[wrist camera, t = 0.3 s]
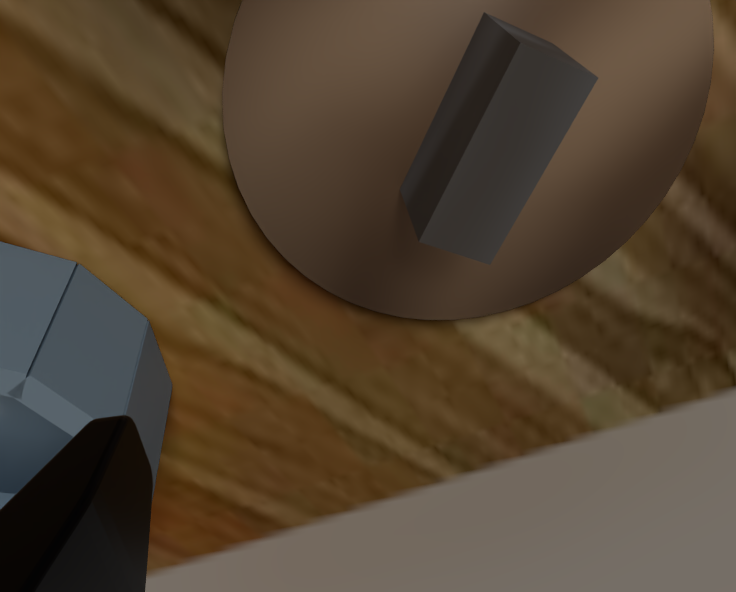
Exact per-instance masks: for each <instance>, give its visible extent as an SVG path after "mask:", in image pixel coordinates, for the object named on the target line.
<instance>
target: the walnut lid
mask: <svg viewBox="0 0 736 592" xmlns="http://www.w3.org/2000/svg"><path fill="white" fill-rule="evenodd" d="M713 54H714V38H713V16H712V10H711V4H710V0H242V2H241V5H240V7H239V10H238V12H237V15H236V18H235V21H234V25H233V30H232V34H231V38H230V42H229V47H228V51H227V55H226V61H225V71H224V82H223V92H222V100H223V126H224V133H225V138H226V144H227V150H228V155H229V160H230V163H231V166H232V169H233V172H234V176H235V179H236V182H237V185H238V188H239V190H240V192H241V194H242V196H243V198H244V200H245V202H246V204H247V207H248V209H249V211H250V213H251V215H252V216H253V218H254V219H255V221H256V222H257V224H258V225H259V227H260V228H261V230H262V231H263V233H264V234H265V236H266V237H267V239H268V240H269V241H270V242H271V243H272V244H273V245H274V247H275V248H276V249H277V250H278V251H279V252H280V253H281V255H282V256H283V257H284V258H285V259H286V260H287V261H288V262H290V263H291V264H292V265H293V266H294V267H295V268H296V269H298V270H299V271H300V272H301V273H302V274H303V275H304V276H306V277H307V278H309V279H310V280H312V281H313V282H315V283H316V284H318V285H319V286H321V287H322V288H324V289H325V290H327V291H328V292H330V293H332V294H334V295H336V296H338V297H340V298H342V299H344V300H346V301H348V302H350V303H353V304H356V305H359V306H361V307H364V308H367V309H370V310H373V311H376V312H380V313H384V314H389V315H393V316H398V317H404V318H413V319H422V320H457V319H465V318H474V317H481V316H486V315H490V314H495V313H499V312H504V311H508V310H511V309H514V308H517V307H520V306H523V305H526V304H529V303H532V302H534V301H536V300H538V299H541V298H543V297H545V296H547V295H550V294H552V293H554V292H556V291H558V290H560V289H562V288H563V287H565V286H567V285H569V284H570V283H572V282H574V281H576V280H577V279H579V278H581V277H582V276H584V275H585V274H587V273H588V272H589V271H591V270H592V269H594V268H595V267H596V266H598V265H599V264H601V263H602V262H603V261H605V260H606V259H607V258H608V257H609V256H611V255H612V254H613V253H614V252H615V251H616V250H617V249H619V248H620V247H621V246H622V245H623V244H624V243H625V242H627V241H628V239H629V238H630V237H631V236H632V235H633V234H634V233H635V232H636V231H637V230H638V229H639V228H640V227H641V226H642V225H643V223H644V222H645V221H646V220H647V219H648V218H649V216H650V215H651V214H652V212H653V211H654V210H655V209H656V207H657V206H658V205H659V203H660V202H661V201H662V199H663V198H664V197H665V195H666V194H667V192H668V190H669V189H670V187H671V185H672V184H673V182H674V181H675V179H676V177H677V176H678V174H679V172H680V171H681V169H682V167H683V165H684V162H685V160H686V158H687V156H688V154H689V152H690V150H691V148H692V146H693V143H694V141H695V138H696V135H697V132H698V129H699V126H700V123H701V121H702V118H703V115H704V111H705V107H706V102H707V98H708V93H709V88H710V84H711V76H712V65H713Z"/></svg>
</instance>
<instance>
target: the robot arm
mask: <svg viewBox="0 0 736 592" xmlns="http://www.w3.org/2000/svg"><path fill="white" fill-rule="evenodd" d="M152 492H153V476H152V469H151V465H150V462H149V460H148V457H147V454H146V451H145V449H144V446H143V443H142V441H141V438H140V435H139V432H138V430H137V427H136V425H135V422H134V421H133V420H132V418H131V417H129V416H127V415H119V416H111V417H103V418H97V419H93V420H92V421H90V422H89V423H88V424H86V425H85V426H84V427H83V428H82V429H81V430H80V431H79V432H78V433H77V434H76V435H75V436H74V437H73V438H72V439H71V440H70V441H69V442H68V443H67V444H66V445H65V446H64V447H63V448H62V449H61V450H60V451H59V452H58V453H57V454H56V455H55V456H54V457H53V458H52V459H51V460H50V461H49V462H48V463H47V464H46V465H45V466H44V467H43V468H42V469H41V470H40V471H39V472H38V473H37V474H36V475H35V476H34V477H33V478H32V479H31V480H30V481H29V482H28V483H27V484H26V485H25V486H24V487H22V488H21V489H20V490H19V491H18V492H17V493H16V494H15V495H14V496H13V497H12V498H11V499H10V500H9V501H8V502H7V503H6V504H5V505H4V506H3V507H2V508H1V509H0V592H145V583H146V571H147V558H148V545H149V532H150V519H151V505H152Z"/></svg>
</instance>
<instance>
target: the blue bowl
mask: <svg viewBox="0 0 736 592" xmlns="http://www.w3.org/2000/svg"><path fill="white" fill-rule="evenodd" d="M76 264H77V262H73V261H70V260H66V259H62V258H59V257H55V256H51V255H48V254H44V253H40V252H37V251H33V250H29V249H26V248H22V247H18V246H14V245H11V244H7V243H3V242H0V509H1V508H2V507H3V506H4V505H5V504H6V503H7V502H8V501H9V500H10V499H11V498H12V497H13V496H14V495H15V494H16V493H17V492H18V491H19V490H20V489H21V488H22V487H24V486H25V485H26V484H27V483H28V482H29V481H30V480H31V479H32V478H33V477H34V476H35V475H36V474H37V473H38V472H39V471H40V470H41V469H42V468H43V467H44V466H45V465H46V464H47V463H48V462H49V461H50V460H51V459H52V458H53V457H54V456H55V455H56V454H57V453H58V452H59V451H60V450H61V449H62V448H63V447H64V446H65V445H66V444H67V443H68V442H69V441H70V440H71V439H72V438H73V437H74V436H75V435H76V434H77V433H78V432H79V431H80V430H81V429H82V428H83V427H84V426H85V425H86V424H88V423H89V422H90V421H92V420H93V419H97V418H103V417H111V416H119V415H127V416H129V417H131V418H132V420H133V421H134V422H135V425H136V427H137V430H138V432H139V435H140V438H141V441H142V443H143V446H144V449H145V451H146V454H147V457H148V460H149V462H150V465H151V469H152V476H153V492H152V499H153V493H154V487H155V482H156V476H157V470H158V465H159V459H160V453H161V448H162V442H163V436H164V431H165V425H166V419H167V414H168V408H169V402H170V397H171V391H172V382H171V380H170V377H169V374H168V371H167V369H166V366H165V363H164V361H163V358H162V355H161V352H160V350H159V347H158V344H157V342H156V339H155V336H154V333H153V331H152V328H151V325H150V323H149V321H147V318H146V317H144V316H143V315H142V314H141V313H139V312H138V311H137V310H136V309H135V308H133V307H132V306H131V305H130V304H128V303H127V302H126V301H125V300H123V299H122V298H121V297H120V296H119V295H117V294H116V293H115V292H114V291H112V290H111V289H110V288H109V287H107V286H106V285H105V284H104V283H103V282H101V281H100V280H99V279H98V278H96V277H95V276H94V275H93V274H91V273H90V272H89V271H88V270H86V269H85V268H84V267H83V266H82V265H80V264H78V265H77V266H76Z"/></svg>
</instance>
